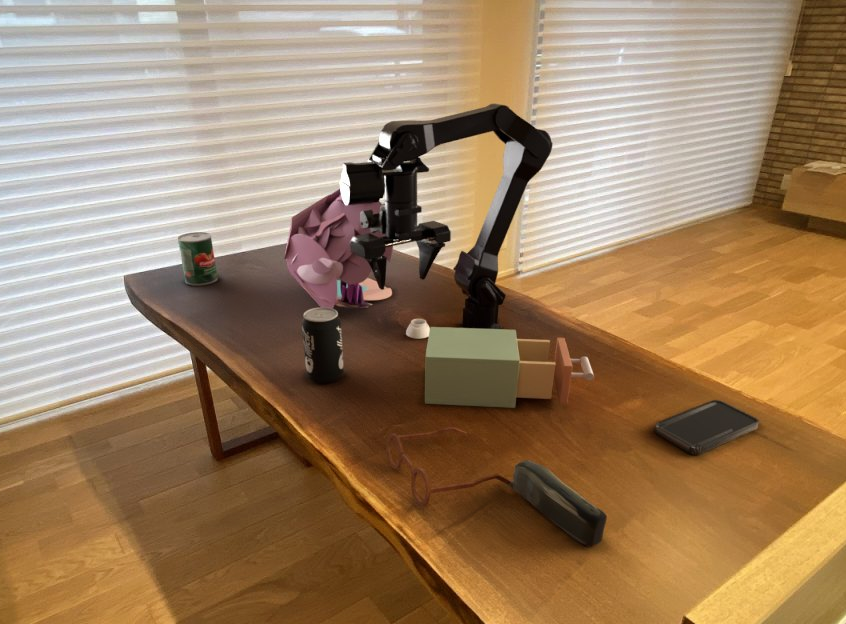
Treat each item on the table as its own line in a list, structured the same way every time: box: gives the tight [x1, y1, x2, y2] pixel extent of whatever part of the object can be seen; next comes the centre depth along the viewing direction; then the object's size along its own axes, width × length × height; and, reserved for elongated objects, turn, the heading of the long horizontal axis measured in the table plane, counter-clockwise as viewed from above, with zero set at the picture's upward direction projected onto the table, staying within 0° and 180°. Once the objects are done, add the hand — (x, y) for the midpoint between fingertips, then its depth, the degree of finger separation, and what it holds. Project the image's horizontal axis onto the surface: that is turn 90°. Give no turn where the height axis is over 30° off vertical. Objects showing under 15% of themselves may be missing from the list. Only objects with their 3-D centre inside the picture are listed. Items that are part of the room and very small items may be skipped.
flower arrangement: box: [284, 188, 394, 309], centre depth 138 cm, size 35×24×28 cm
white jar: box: [405, 318, 430, 340], centre depth 123 cm, size 5×3×5 cm
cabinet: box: [424, 326, 520, 409], centre depth 103 cm, size 15×12×9 cm
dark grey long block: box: [504, 459, 608, 547], centre depth 76 cm, size 5×3×15 cm
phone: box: [653, 399, 760, 456], centre depth 93 cm, size 8×1×15 cm
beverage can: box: [301, 306, 345, 385], centre depth 106 cm, size 7×7×12 cm
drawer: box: [516, 337, 595, 404], centre depth 102 cm, size 18×10×7 cm, turn 84°
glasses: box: [385, 426, 513, 507], centre depth 83 cm, size 13×13×5 cm
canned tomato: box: [176, 231, 219, 287], centre depth 151 cm, size 8×8×11 cm
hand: (402, 283), depth 116 cm, fingers open, 9 cm apart
